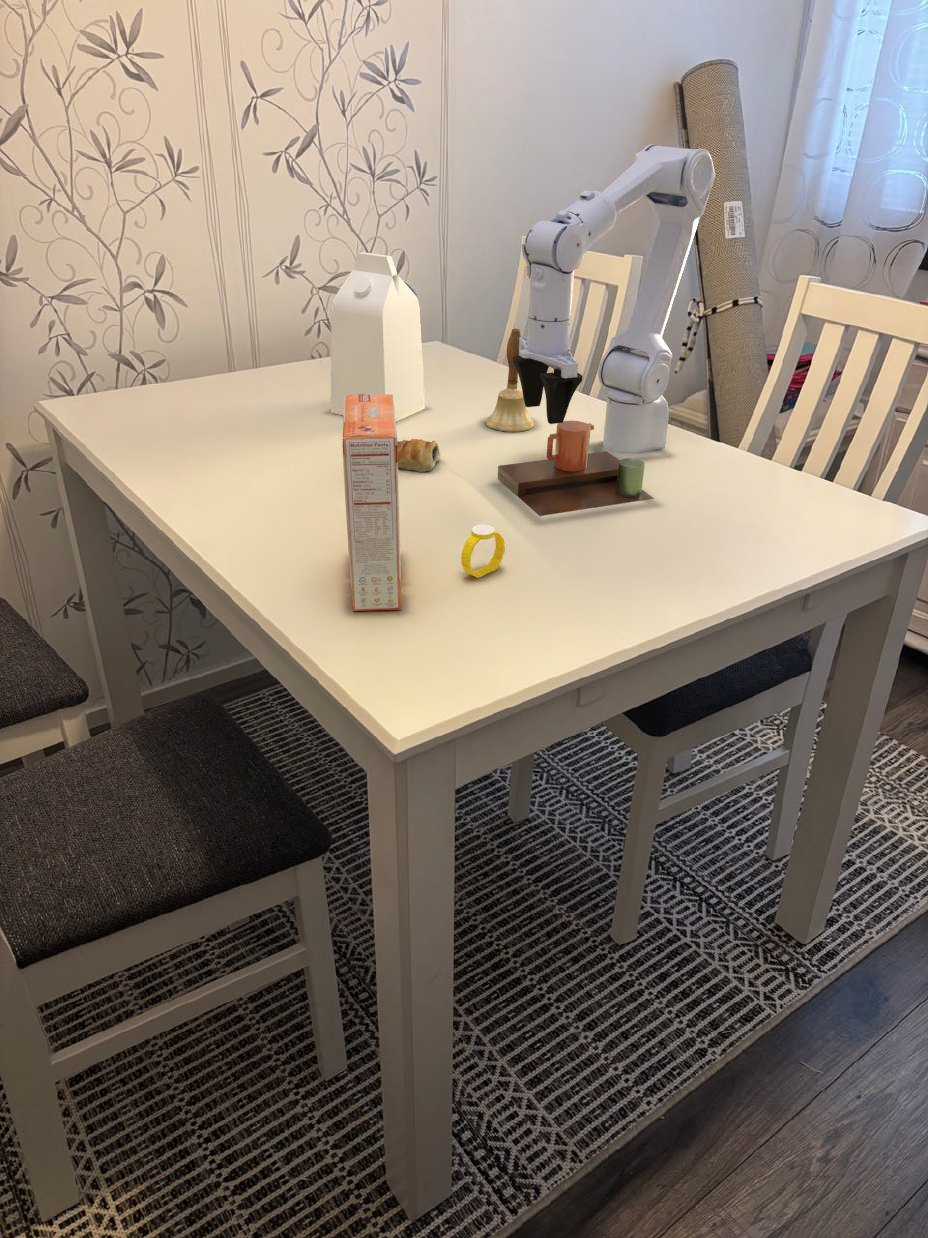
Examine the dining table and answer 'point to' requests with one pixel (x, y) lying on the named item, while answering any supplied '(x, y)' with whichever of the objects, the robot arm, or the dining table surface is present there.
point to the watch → (476, 534)
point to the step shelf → (566, 485)
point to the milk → (376, 337)
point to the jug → (570, 445)
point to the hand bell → (511, 397)
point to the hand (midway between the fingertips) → (543, 414)
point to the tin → (630, 477)
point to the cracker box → (372, 501)
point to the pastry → (417, 454)
